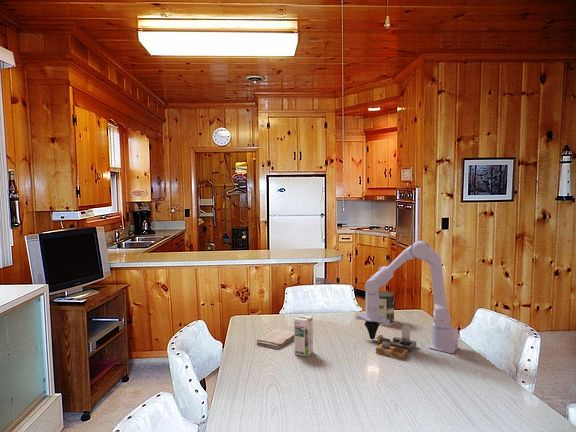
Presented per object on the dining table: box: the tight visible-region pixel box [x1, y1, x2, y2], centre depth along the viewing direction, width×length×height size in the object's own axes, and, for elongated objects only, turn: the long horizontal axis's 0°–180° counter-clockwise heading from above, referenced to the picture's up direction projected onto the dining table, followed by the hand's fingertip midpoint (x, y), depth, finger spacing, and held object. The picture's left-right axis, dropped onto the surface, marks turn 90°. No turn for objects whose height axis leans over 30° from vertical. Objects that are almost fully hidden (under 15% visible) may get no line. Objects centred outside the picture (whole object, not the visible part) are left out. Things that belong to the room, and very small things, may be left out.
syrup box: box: [293, 314, 314, 358], centre depth 151 cm, size 6×6×14 cm
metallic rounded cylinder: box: [401, 324, 411, 346], centre depth 155 cm, size 3×3×9 cm
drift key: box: [376, 334, 391, 345], centre depth 161 cm, size 5×3×3 cm
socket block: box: [389, 336, 417, 354], centre depth 156 cm, size 9×8×2 cm
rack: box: [375, 342, 409, 361], centre depth 149 cm, size 11×5×4 cm, turn 52°
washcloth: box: [256, 328, 295, 350], centre depth 166 cm, size 12×18×3 cm, turn 150°
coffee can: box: [379, 291, 395, 327], centre depth 187 cm, size 10×10×14 cm
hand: (372, 338), depth 164 cm, fingers closed
